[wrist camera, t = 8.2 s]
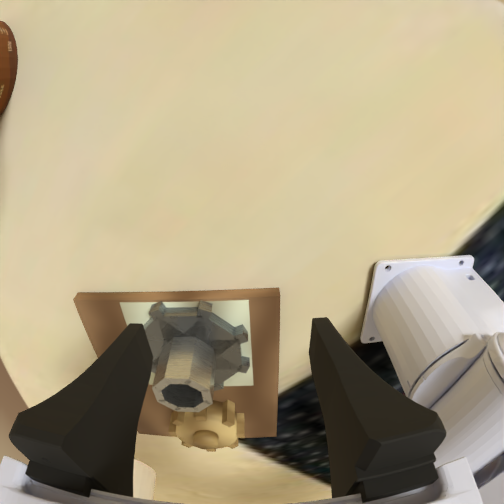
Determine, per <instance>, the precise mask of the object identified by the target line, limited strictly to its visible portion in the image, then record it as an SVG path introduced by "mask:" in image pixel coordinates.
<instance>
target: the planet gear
mask: <svg viewBox="0 0 504 504" xmlns="http://www.w3.org/2000/svg"><path fill="white" fill-rule="evenodd" d="M212 305H213V304H212V303H209V302H205V301H202V300H200V303H199V306H198V307H167V308H166V306H165V305H164V303H163V302H162V301H160V302H157V303H155V304H152V305H151V308H150V311H149V315H150V316H151V318H150V319H149V320H148V321H147V322H146V323H145V324H144V325H143V326H144V330H145V333H146V336H147V339H148V342H149V345H150V348H151V351H152V354H153V362H152V369H151V372H153V373H155V377H154V381H153V385H152V390H153V392H154V394H155V397H156V399H157V401H158V402H159V403H161V404H163V405H165V406H167V407H169V408H171V409H173V410H175V411H177V412H200V411H202V410H203V409H205V408H206V407H208V406H210V405H211V404H213V394H214V391H217V390H221V389H223V388H224V381H226V380H227V379H229V378H230V377H231V376H233V375H234V374H236V373H237V372H241V373H247V371H248V369H249V367H250V358H249V357H245V356H242V351H241V344H242V343H245V342H248V332H247V330H246V328H245V327H244V325H243V324H242V325H239V326H236V327H234V326H232V325H231V324H229V323H228V322H226V321H225V320H223V319H222V318H220V317H219V316H217V315H216V314H215V313H213V312H212Z"/></svg>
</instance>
